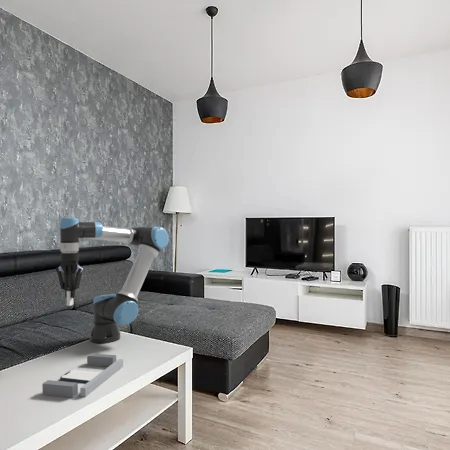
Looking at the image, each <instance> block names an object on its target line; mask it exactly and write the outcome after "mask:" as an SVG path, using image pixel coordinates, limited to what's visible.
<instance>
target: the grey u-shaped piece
mask: <svg viewBox="0 0 450 450" xmlns="http://www.w3.org/2000/svg"><path fill="white" fill-rule="evenodd" d="M86 364H87V366H95V367H106V368H105V369H103V370H102V371H100V372H101V373H100V374H98V375H97V376H96V377H94V378H93V379H92V380H90V381H89V382H88V383H84V384H83V385H82V386H81V387H80V389H79V385H78V384H79V383H78V382H67V381H61V380H50V379H49V380H48V379H47V380H45V381H44V382H43V383H42V396H49V397H50V396H52V397H61V398H72V399H73V398H75V397H76V396H77V395H78V394H79V393H80V395H79V396H80V397H82V398H86V397H87V396H88V395H91V393H92V392H93V391H95V390H96V389H97V388H99V387H100V386H101V385H102V384H103V383H105V382H106V381H108V380H109V379H110V378H111V377H112V376H114V374H116V373H117V372H118V371H120V370H121V369H122V368H123V367H124V359H121V358H119V359H117V355H116V354H108V353H107V354H105V353H104V354H103V353H89V354H87V356H86ZM79 390H80V391H79Z"/></svg>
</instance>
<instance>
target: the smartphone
mask: <svg viewBox="0 0 450 450" xmlns="http://www.w3.org/2000/svg"><path fill="white" fill-rule="evenodd" d="M101 372H102V371H91V370H83V369H82V370H81V369H75V368H74V369H70V370H69V371H67V372H65V374H62V375H61V376H60V377H59V379H60V380H59V381H64V382H75V383H78V384H79V383H80V384H86V383H88V382H89V381H90V380H92V379H93V378H94V377H96V376H97V375H98V374H100V373H101Z"/></svg>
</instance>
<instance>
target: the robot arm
mask: <svg viewBox="0 0 450 450" xmlns="http://www.w3.org/2000/svg"><path fill="white" fill-rule="evenodd" d="M59 235H60V236H59V238H60V242H59V243H60V249H59V250H60V252H61V253H60V256H59V257H60V259H59V260H60V265H59V266H58V267H56V268H55V271H56V273H57V277H58V281H59V285H60V290H64V291H65V292H64V294H65V295H64V296H65V299H66V306H68V307H70V306H73V305H74V299H75V296H76V295H75V294H76V290H77V289H80V285H81V279H82V275H83V274H82V273H83V272H84V270H85V268H84V267H81V266H80V263H79V260H80V259H79V257H80V254H79V251H80V246H79V245H80V244H79V240H80V239H87V240H88V239H89V240H98V241H105V242H106V241H109V242H118V243H123V244H124V245H130V246H135V247H139V250H138V253H137V256H136V257H135V260H134V262H133V264H132V266H131V268H130V270H129V272H128V275H127V278H126V280H125V282H124V283H123V287H122V289H121V290H120V291H119V292H116V293H110V294H102V295H97V296H95V297H94V298H93V300H92V302H93V304H92V306H93V311H92V312H93V327H92V329H91V332H90V336H89V339H90V340H89V341H90V342H92V343H94V344H95V343H96V344H108V343H113V342H117V341H119V340H120V339H121V331H120V328H119V326H118V325H129V324H131V323H133V322H134V321H135V320H136V318H137V316H138V314H139V306H138V303H139V299H138V295H139V293H140V291H141V288H142V286H143V284H144V282H145V279H146V277H147V275H148V272H149V270H150V269H151V268H150V267H151V266H152V264H153V261H154V259H155V256H158V255H159V254H160V252H161V250H162V249H163V250H164V249H165V248H166V247H167V246H168V243H169V241H170V240H169V238H170V237H169V234H168V232H167V230H166V229H165V228H163V227H162V226H139V227H137V226H136V227H130V226H127V227H125V228H123V227H117V226H116V227H115V226H110V225H109V226H108V225H103V224H102V223H101V222H99V221H79V219H78V217H61V219H60V222H59Z"/></svg>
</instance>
